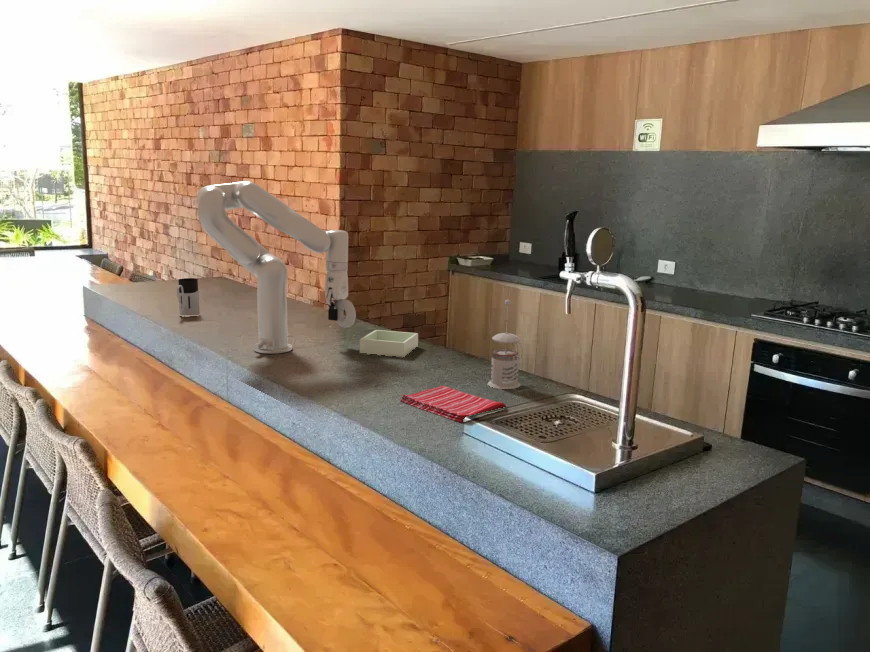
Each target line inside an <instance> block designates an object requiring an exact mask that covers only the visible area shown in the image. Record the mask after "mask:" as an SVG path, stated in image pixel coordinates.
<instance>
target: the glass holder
mask: <svg viewBox="0 0 870 652" xmlns="http://www.w3.org/2000/svg"><path fill="white" fill-rule="evenodd" d="M199 292H200V291H199V281H198V278H194V277H191V278H189V277H188V278H184V277H183V278H179V279H178V285H177V288H176V293H177V294H176V296H177V300H178V305H179V306H178V307H179V314H180V315H199V314H201V311H200V295H199V294H200V293H199ZM179 314H178V315H179Z"/></svg>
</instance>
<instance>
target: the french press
mask: <svg viewBox="0 0 870 652" xmlns="http://www.w3.org/2000/svg"><path fill="white" fill-rule="evenodd" d="M504 304H505V305H506V306H507V307H506V319H508V317H509V316H508V311H509V305H511V304H512V300H510V299H506V300H504ZM505 324H506V325H505V326H506V329H505V330H506V331H505V332H501V333H500V332H499V333H496V334H495V335H493V336H492V337H491V339H492V340H493V342H495V343H500V344H511V345H512V347H516V349H517V350H514V349H507V346H505V349H504V348H503V349H502V348H501V349H500V348H499V349H495V350H493V351H492V352H493V355H492V356H491V368H490V369H491V371H490V373H491V375H490V378H491V379H490V380H489V381H488V382H487V386H488V385H489V386H490V388H492V387H493V388H492V389H495V388H498V389H497V390H502V389H508V388H509V389H511V388H516V387H519V386H520V385H521V386H522V384H521V383H520V382H519V381H518V380H519V364H520V363H521V362H522V359H523V350H524V349H523V346H522V344H521V342H520V341H521V338H520V337H519V336H517V335H516V334H514V333H509V332H508V323H505ZM513 344H515V345H513ZM518 344H519V345H520V348H521V355H520V358H519V346H518ZM500 359H503V360H500ZM513 359H514V360H513ZM519 359H520V360H519ZM489 386H488V387H489Z"/></svg>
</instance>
